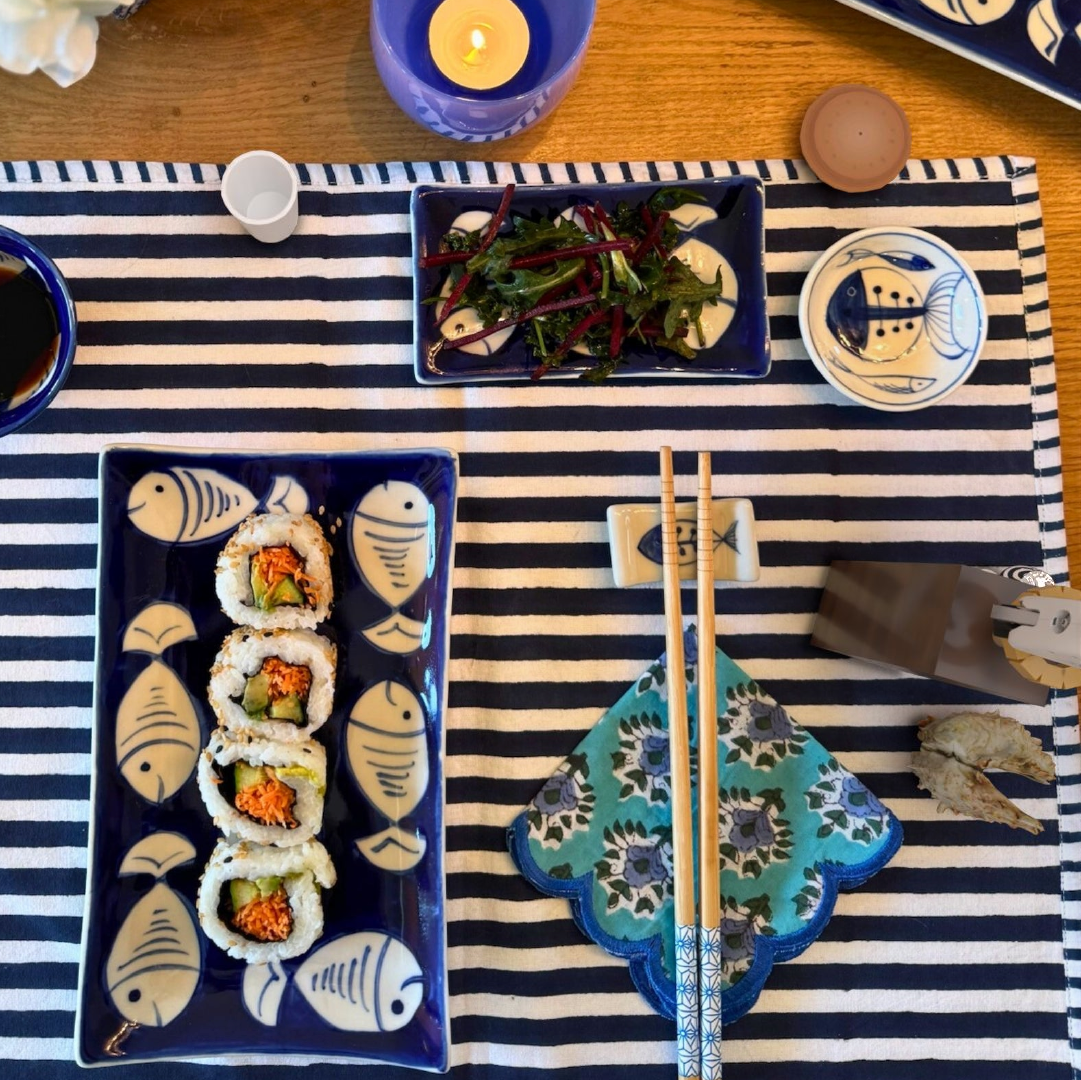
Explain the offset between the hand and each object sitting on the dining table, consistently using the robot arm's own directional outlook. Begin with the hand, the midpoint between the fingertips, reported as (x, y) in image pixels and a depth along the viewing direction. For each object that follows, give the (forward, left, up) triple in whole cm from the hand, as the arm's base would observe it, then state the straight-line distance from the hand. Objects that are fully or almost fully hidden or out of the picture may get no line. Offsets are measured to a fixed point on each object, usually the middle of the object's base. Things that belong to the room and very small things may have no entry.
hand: (1015, 625), depth 102 cm
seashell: (-20, +16, -42) cm, 49 cm away
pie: (+15, -62, -42) cm, 77 cm away
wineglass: (-19, -8, -42) cm, 47 cm away
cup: (+90, -29, -42) cm, 104 cm away
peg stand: (-4, +1, -42) cm, 42 cm away
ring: (-4, 0, 0) cm, 4 cm away
